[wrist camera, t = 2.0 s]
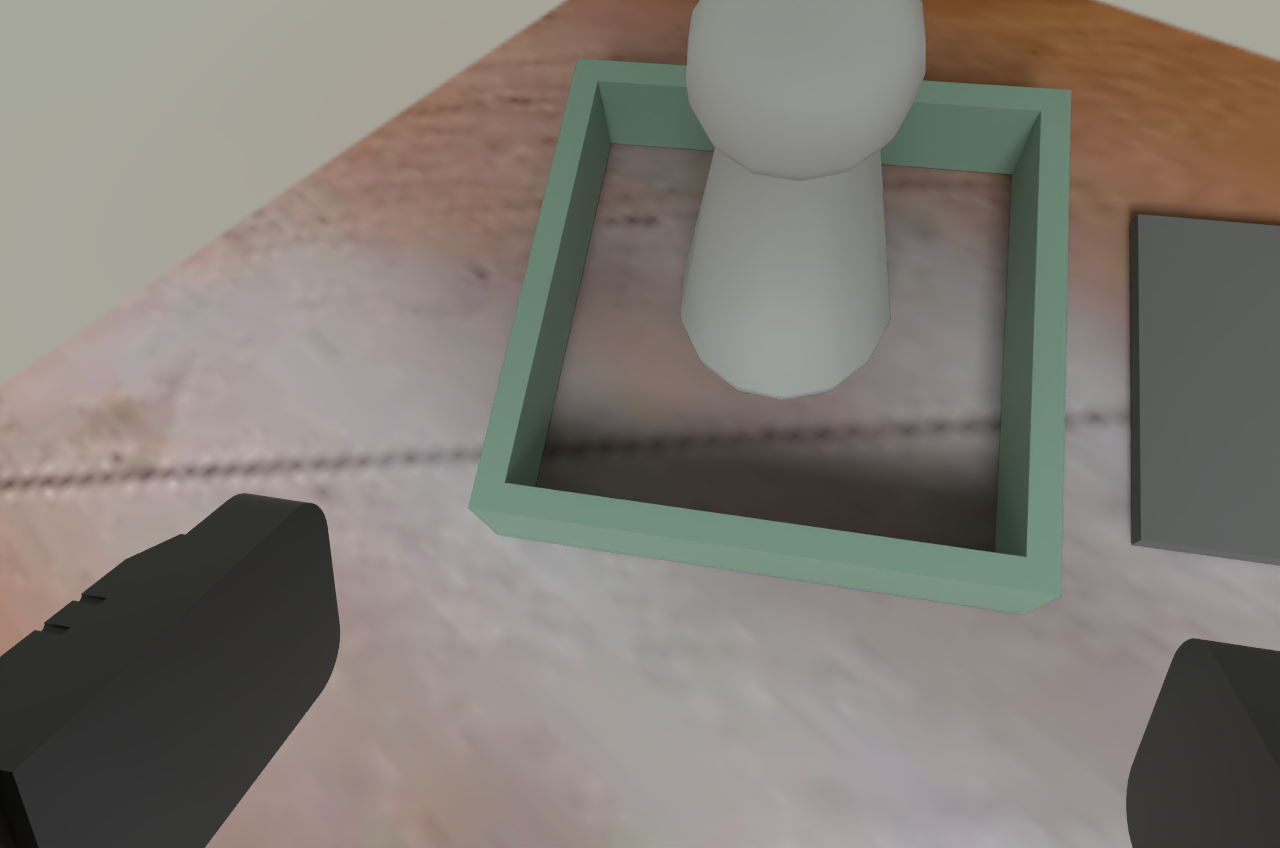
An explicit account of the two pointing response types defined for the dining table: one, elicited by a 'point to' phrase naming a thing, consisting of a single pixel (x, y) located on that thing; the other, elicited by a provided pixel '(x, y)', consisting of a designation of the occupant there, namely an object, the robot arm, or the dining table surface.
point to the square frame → (1004, 581)
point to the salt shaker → (795, 185)
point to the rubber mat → (1205, 387)
